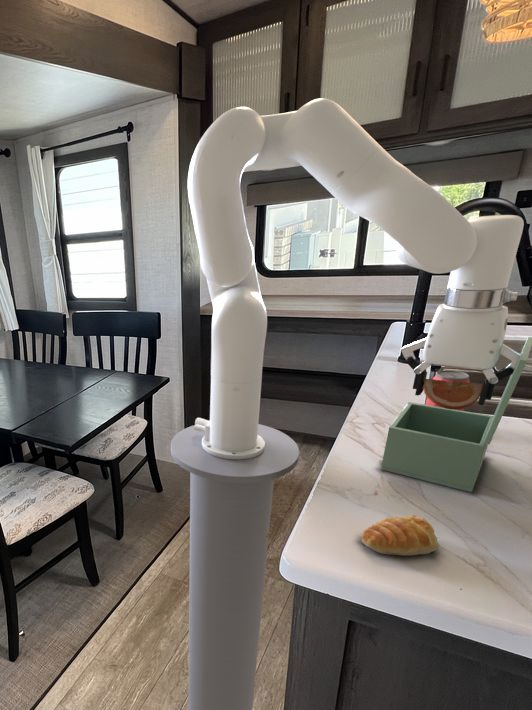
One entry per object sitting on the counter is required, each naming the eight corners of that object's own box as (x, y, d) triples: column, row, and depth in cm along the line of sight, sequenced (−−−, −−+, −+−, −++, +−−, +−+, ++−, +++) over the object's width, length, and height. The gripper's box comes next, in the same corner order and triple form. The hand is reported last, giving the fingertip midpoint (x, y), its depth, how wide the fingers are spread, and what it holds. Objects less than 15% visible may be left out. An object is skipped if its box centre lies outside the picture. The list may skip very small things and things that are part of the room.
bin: (380, 469, 88) (389, 427, 85) (400, 440, 97) (408, 401, 94) (471, 492, 79) (485, 446, 76) (483, 458, 88) (496, 416, 85)
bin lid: (519, 359, 69) (573, 368, 65) (527, 336, 78) (575, 343, 75) (483, 443, 76) (530, 455, 72) (494, 413, 85) (536, 423, 81)
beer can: (420, 429, 101) (432, 377, 96) (421, 418, 106) (433, 367, 101) (459, 435, 97) (473, 380, 93) (458, 423, 102) (471, 371, 97)
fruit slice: (417, 409, 83) (424, 383, 81) (418, 396, 88) (424, 371, 86) (477, 417, 79) (485, 389, 77) (474, 403, 84) (482, 377, 82)
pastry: (381, 564, 66) (385, 542, 64) (349, 535, 72) (352, 515, 71) (441, 553, 67) (447, 531, 65) (405, 526, 73) (410, 505, 71)
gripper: (548, 296, 72) (516, 400, 79) (415, 292, 84) (397, 383, 91) (545, 305, 68) (511, 415, 75) (405, 300, 79) (387, 395, 86)
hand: (449, 397), depth 83 cm, fingers closed on fruit slice, 8 cm apart
